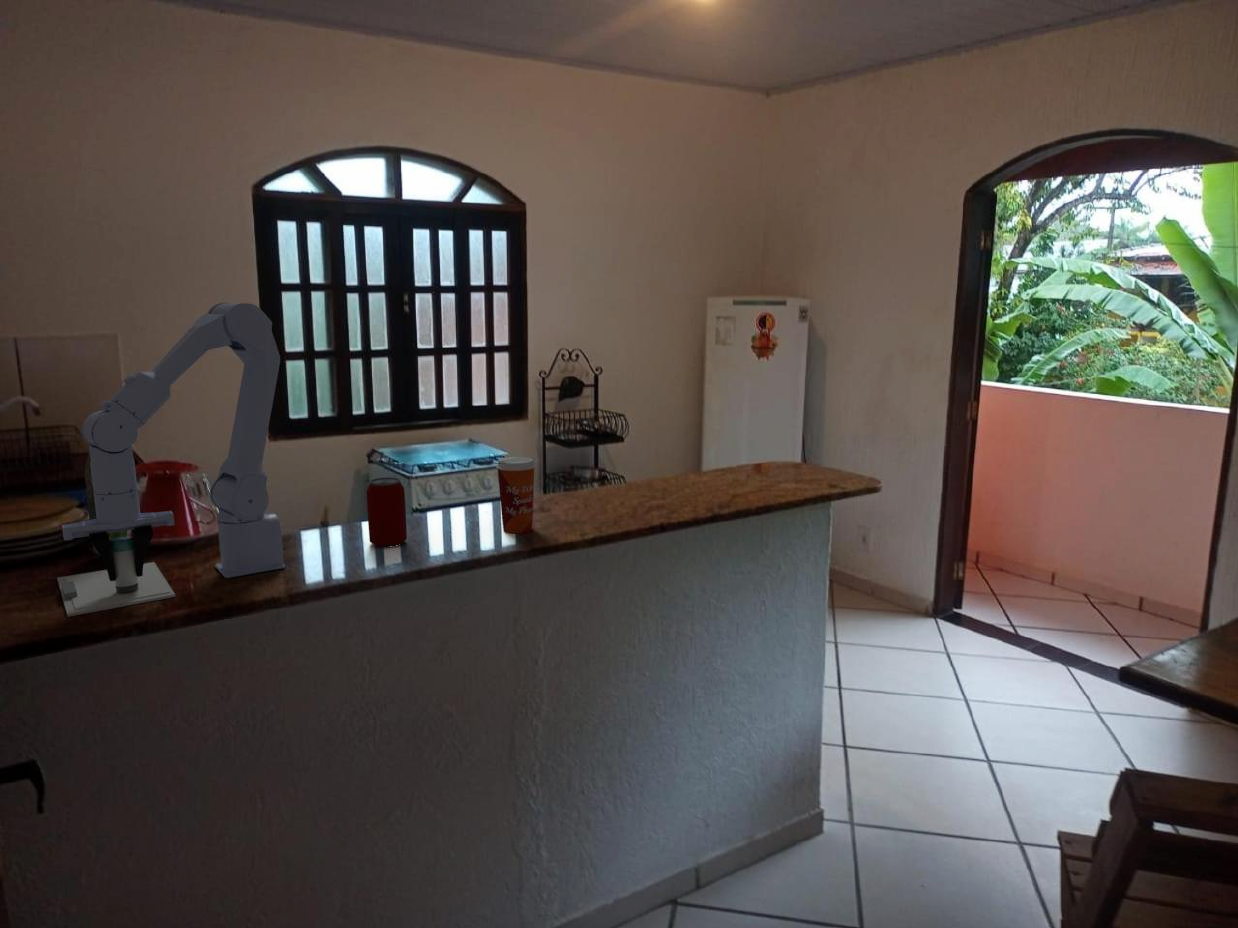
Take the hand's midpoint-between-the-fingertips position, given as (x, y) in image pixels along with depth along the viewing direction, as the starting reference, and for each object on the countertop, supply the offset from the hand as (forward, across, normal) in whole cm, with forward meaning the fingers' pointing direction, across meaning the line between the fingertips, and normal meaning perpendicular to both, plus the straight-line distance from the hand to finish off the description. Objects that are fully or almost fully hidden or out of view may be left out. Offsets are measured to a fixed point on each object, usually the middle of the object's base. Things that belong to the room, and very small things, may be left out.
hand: (125, 577), depth 131 cm
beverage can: (+3, -43, -3) cm, 43 cm away
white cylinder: (+2, 0, 0) cm, 2 cm away
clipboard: (+3, +1, -5) cm, 6 cm away
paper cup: (+3, -67, +4) cm, 67 cm away
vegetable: (+3, -1, -24) cm, 24 cm away
